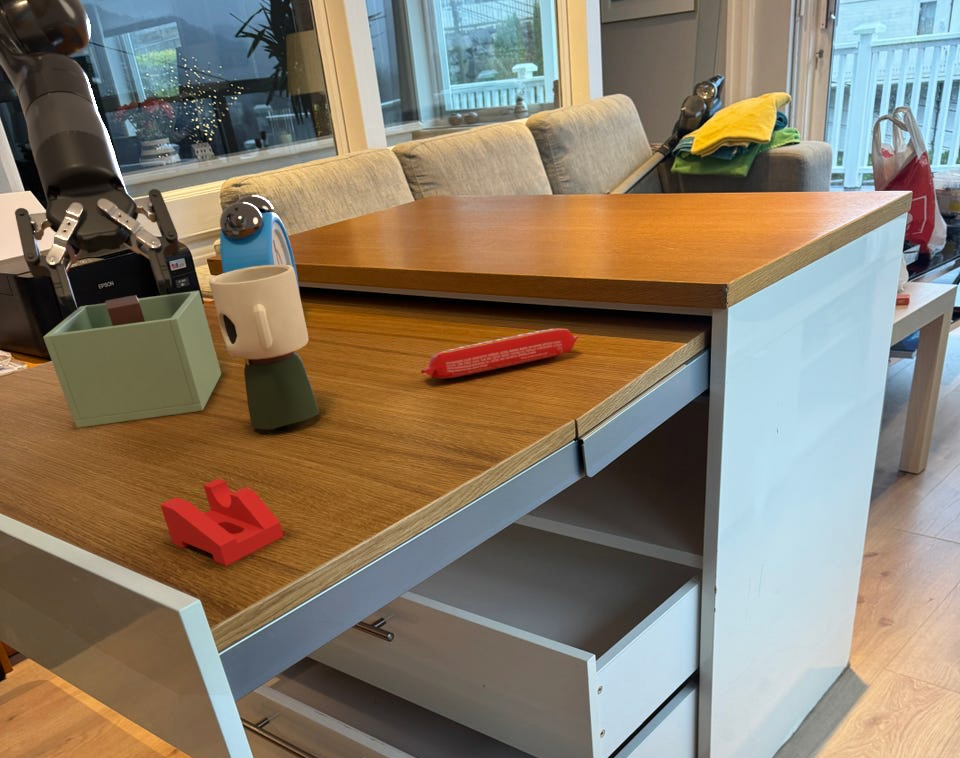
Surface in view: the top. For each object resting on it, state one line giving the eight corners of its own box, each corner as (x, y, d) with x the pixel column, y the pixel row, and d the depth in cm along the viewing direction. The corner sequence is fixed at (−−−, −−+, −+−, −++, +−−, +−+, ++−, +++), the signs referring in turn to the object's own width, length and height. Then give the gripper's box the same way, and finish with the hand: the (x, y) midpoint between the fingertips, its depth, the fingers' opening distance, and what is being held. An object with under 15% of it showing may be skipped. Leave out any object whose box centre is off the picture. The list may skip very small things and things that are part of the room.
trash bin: (76, 428, 87) (42, 336, 83) (108, 389, 98) (80, 306, 93) (202, 411, 88) (176, 318, 83) (221, 374, 98) (199, 290, 93)
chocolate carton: (133, 389, 94) (104, 300, 89) (163, 383, 95) (136, 294, 90) (136, 401, 90) (106, 309, 85) (167, 394, 91) (139, 302, 86)
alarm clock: (289, 341, 107) (258, 203, 98) (238, 347, 107) (203, 210, 99) (306, 314, 118) (280, 188, 109) (260, 319, 118) (230, 194, 110)
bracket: (173, 543, 63) (160, 504, 61) (229, 516, 66) (218, 478, 64) (225, 565, 59) (213, 524, 57) (283, 536, 62) (273, 496, 60)
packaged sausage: (569, 348, 92) (567, 318, 90) (584, 357, 89) (583, 326, 87) (420, 380, 88) (415, 349, 87) (430, 390, 85) (426, 358, 84)
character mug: (246, 412, 86) (209, 268, 79) (320, 398, 87) (290, 256, 80) (248, 450, 77) (206, 293, 70) (330, 435, 78) (297, 278, 71)
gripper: (-13, 138, 84) (30, 286, 81) (142, 119, 88) (188, 260, 85) (10, 195, 91) (51, 334, 88) (153, 175, 95) (196, 307, 92)
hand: (118, 297), depth 86 cm, fingers open, 8 cm apart
